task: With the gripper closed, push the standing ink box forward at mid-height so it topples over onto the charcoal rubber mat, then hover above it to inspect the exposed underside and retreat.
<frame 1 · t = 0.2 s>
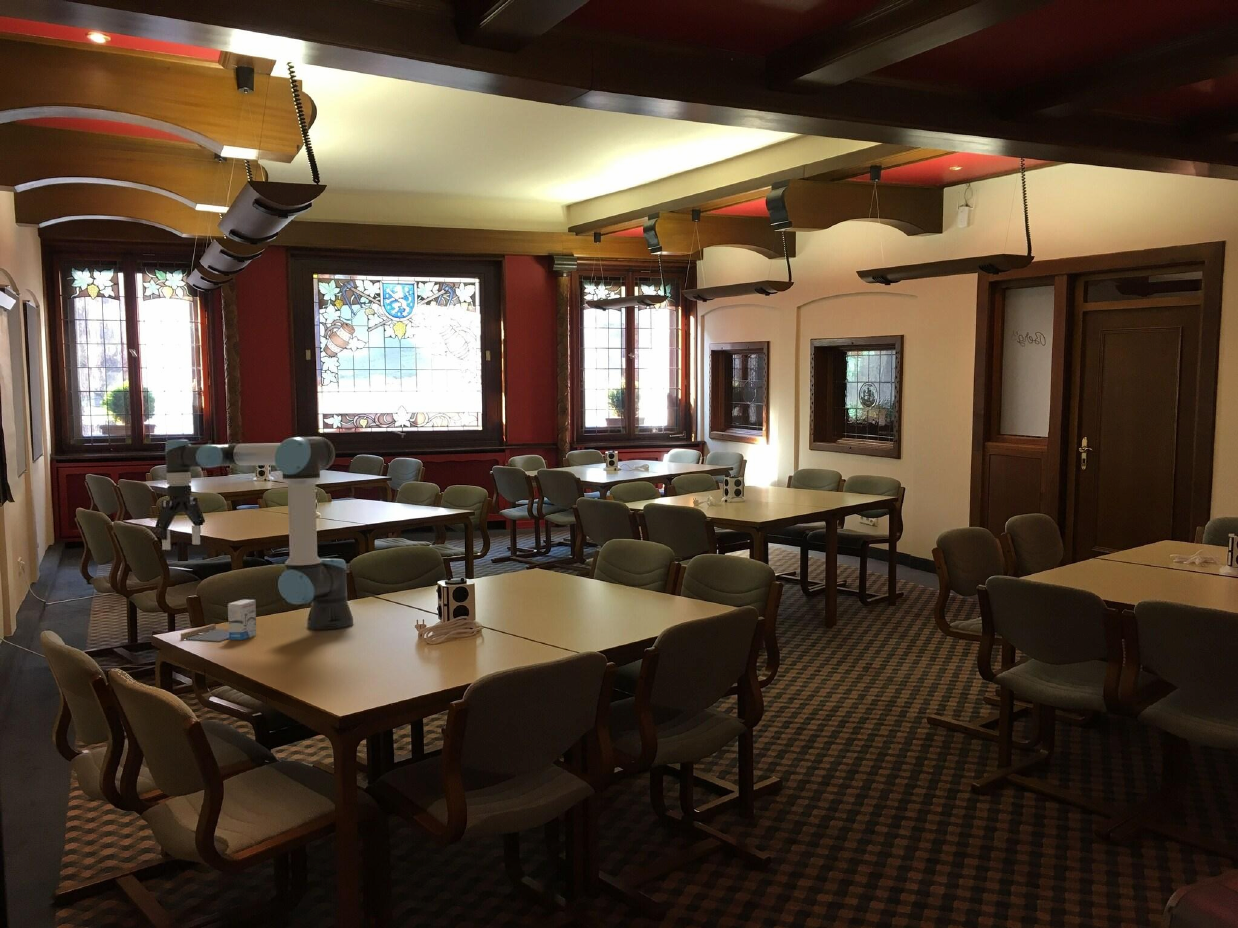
hand: (181, 546, 325), 28 cm above the table, fingers open, 13 cm apart
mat: (216, 635, 312), on the table
ink box: (243, 637, 309), on the table
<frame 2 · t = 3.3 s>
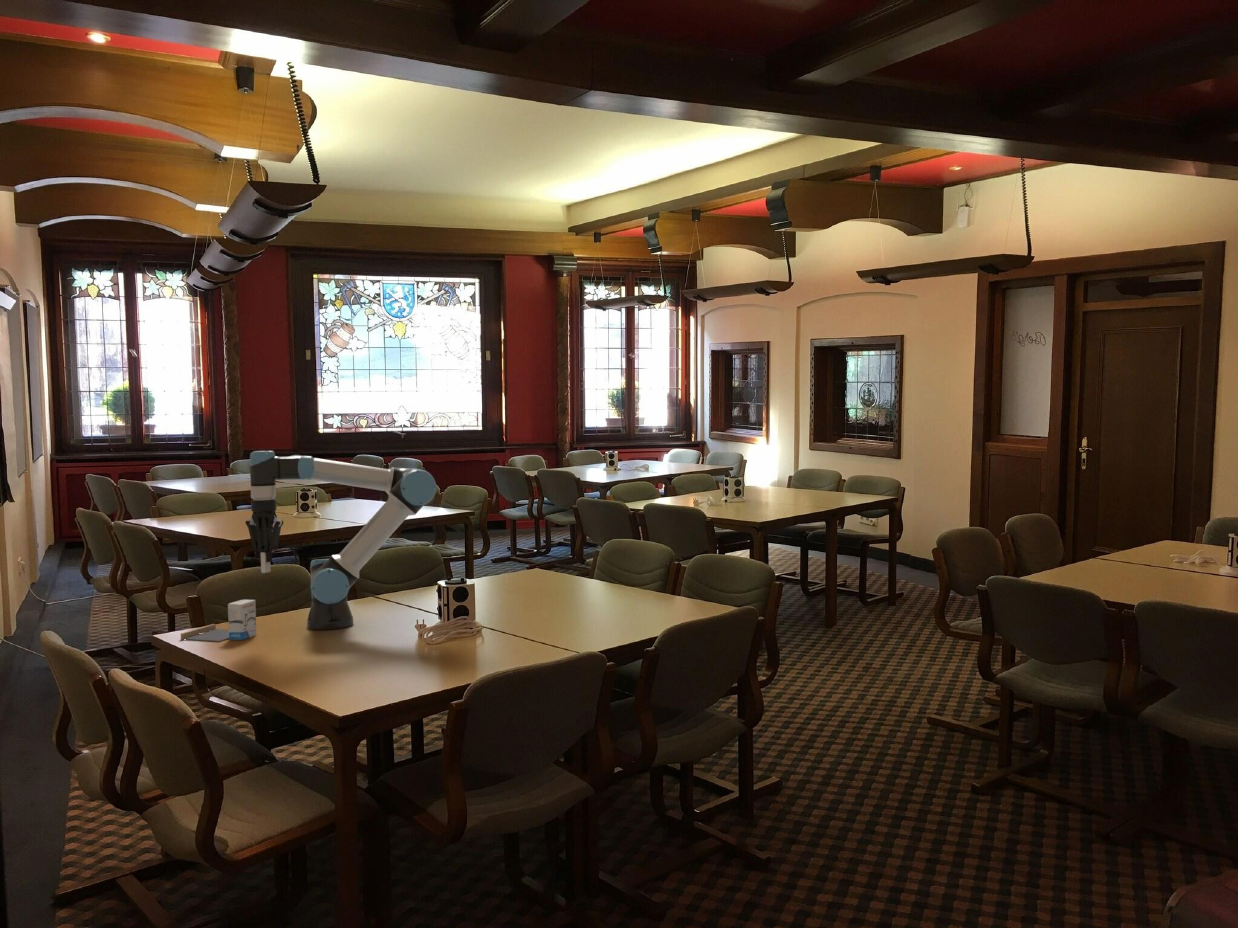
hand: (266, 572, 305), 22 cm above the table, fingers closed
nothing on the table moved.
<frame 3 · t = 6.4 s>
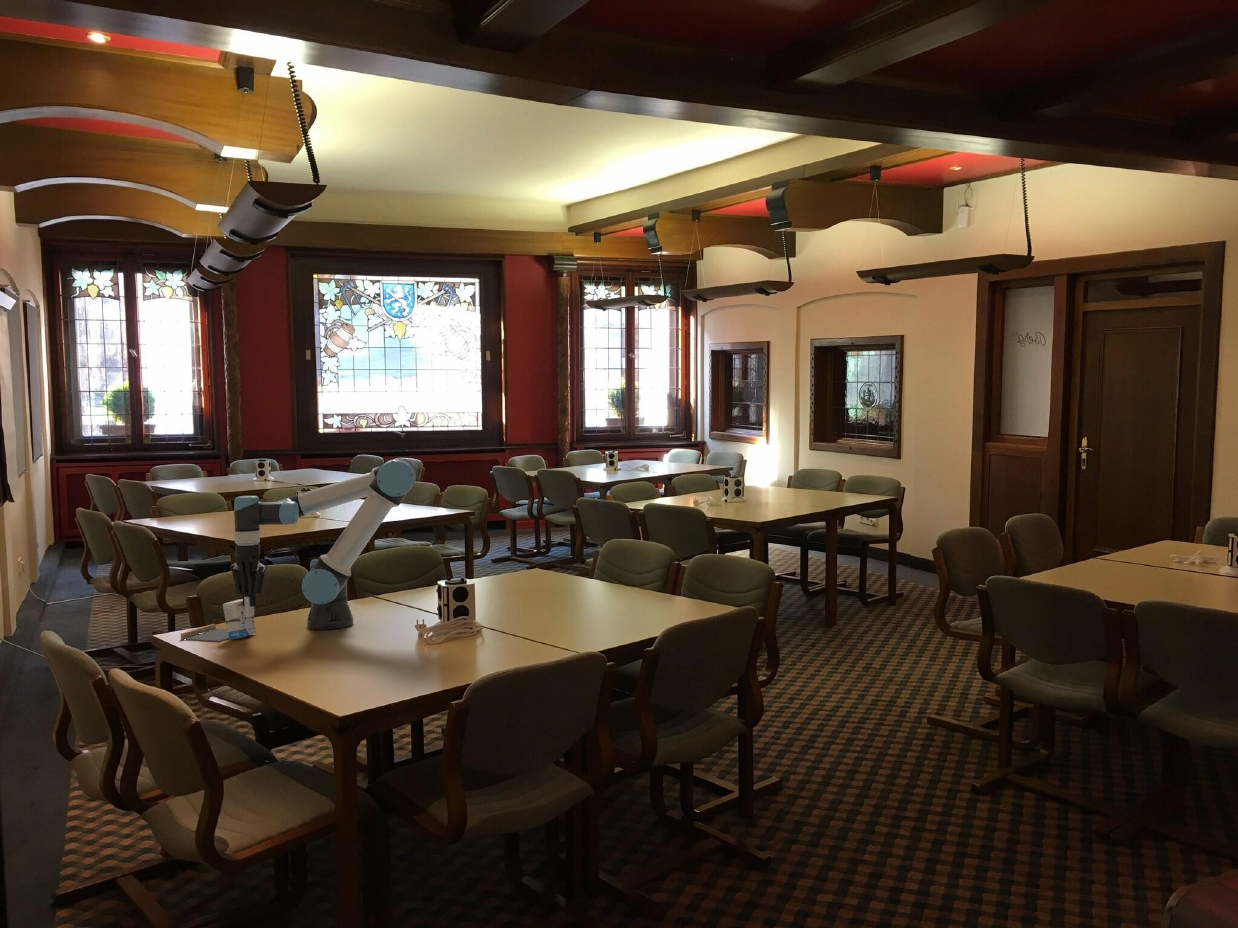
hand: (249, 616, 307), 7 cm above the table, fingers closed
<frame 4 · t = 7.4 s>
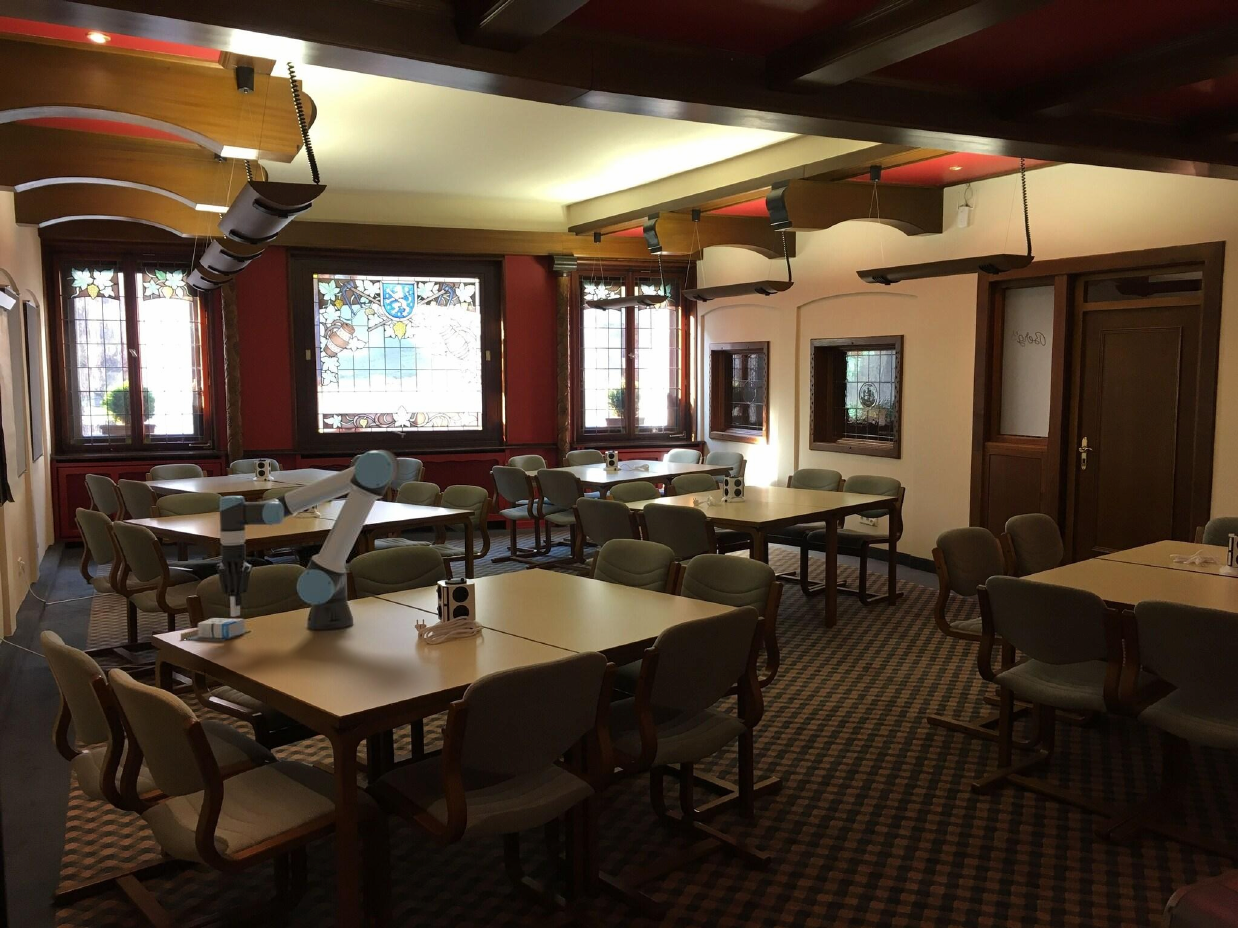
hand: (235, 615, 309), 7 cm above the table, fingers closed
ink box: (237, 628, 309), point 3 cm above the table, touching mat
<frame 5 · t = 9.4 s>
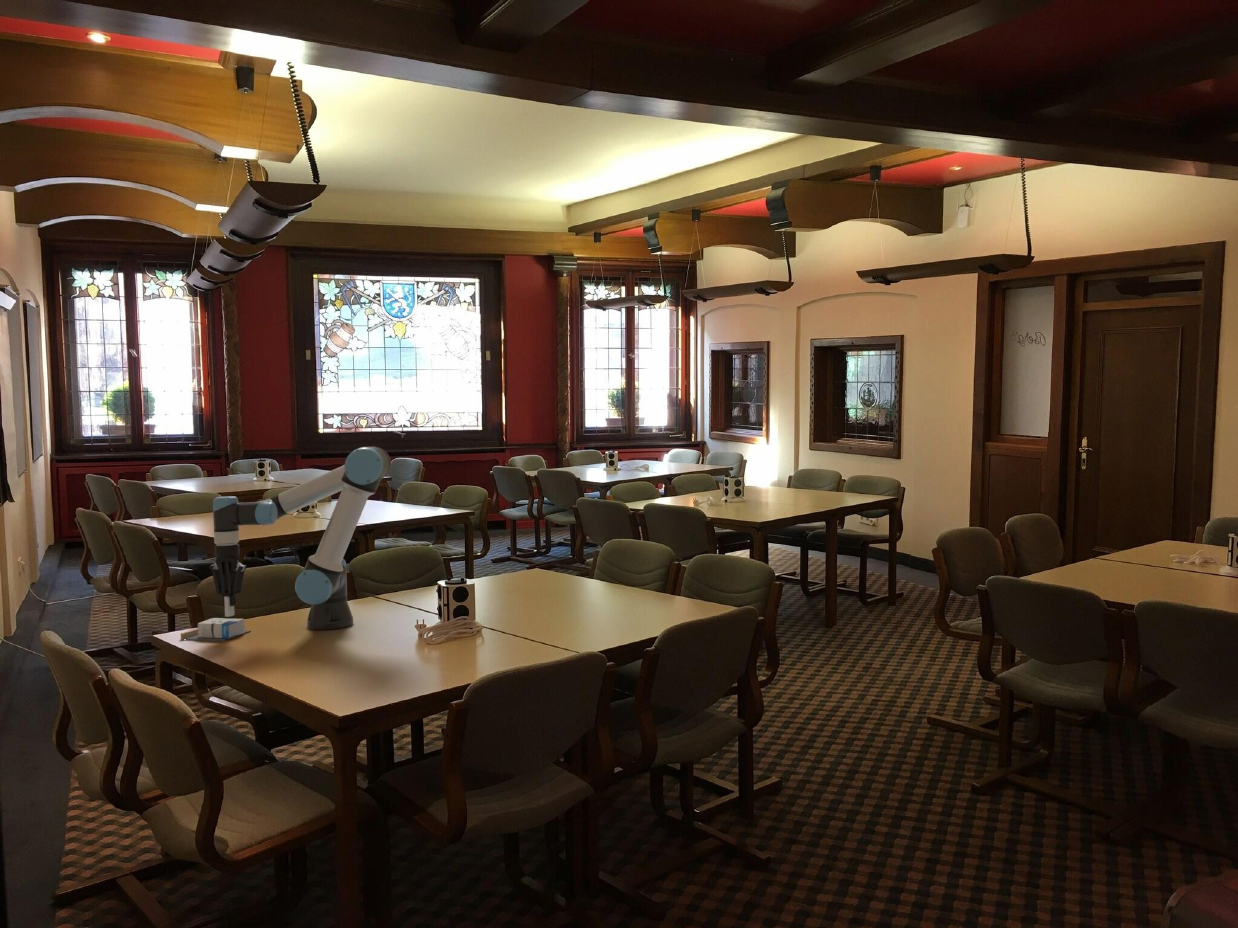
hand: (229, 615, 310), 7 cm above the table, fingers closed
nothing on the table moved.
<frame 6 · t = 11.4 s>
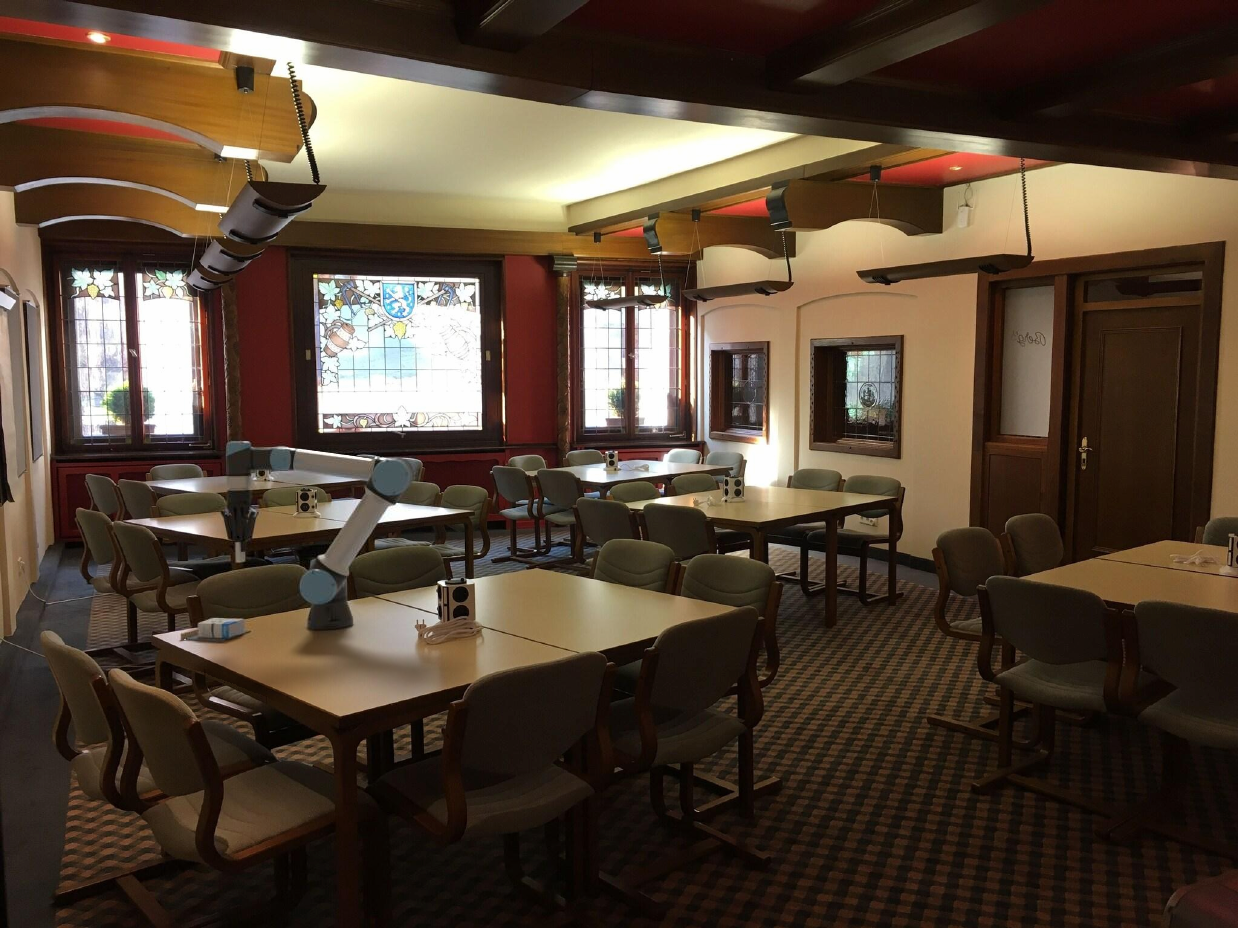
hand: (240, 561, 307), 25 cm above the table, fingers closed
nothing on the table moved.
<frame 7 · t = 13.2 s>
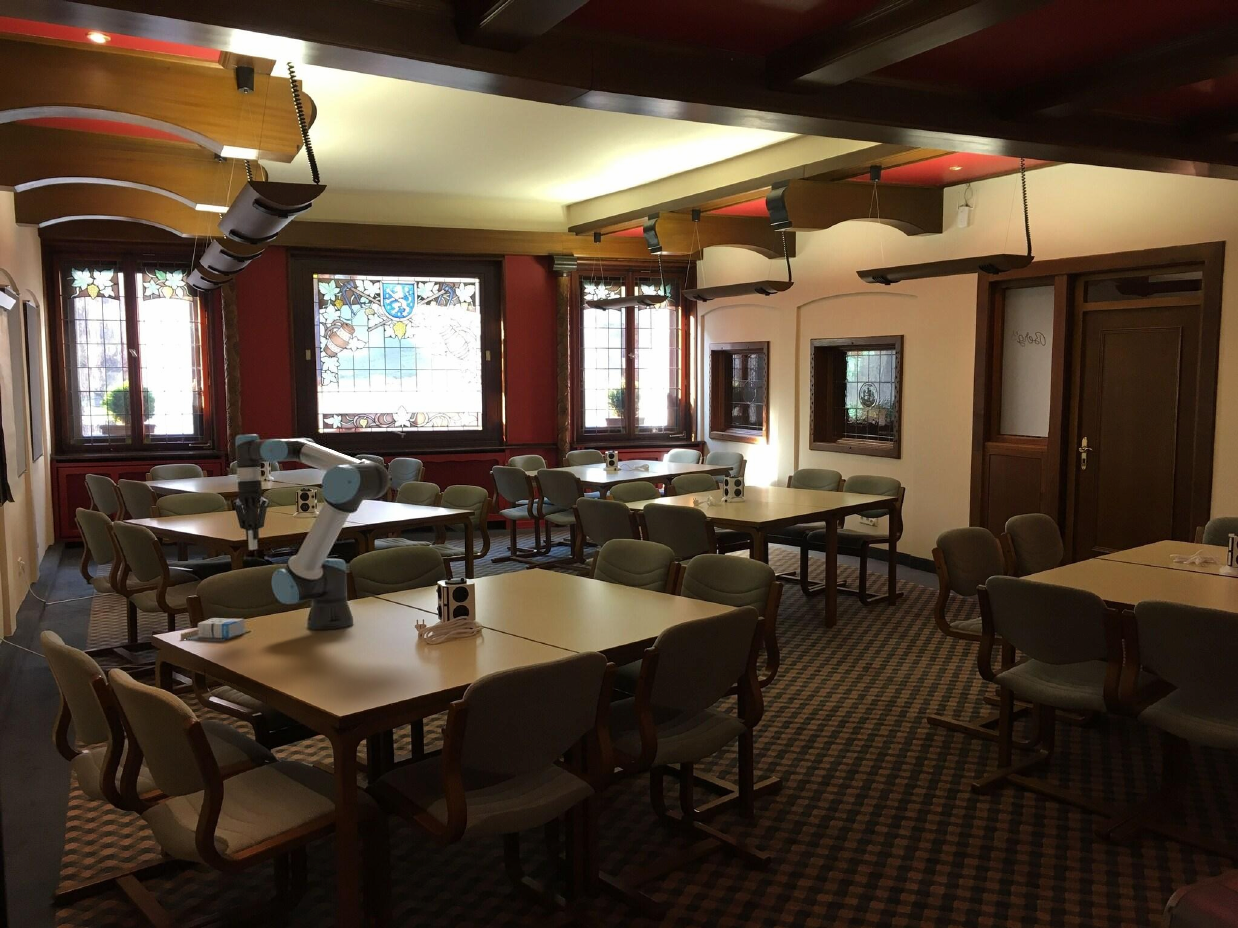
hand: (253, 549, 322), 27 cm above the table, fingers closed
nothing on the table moved.
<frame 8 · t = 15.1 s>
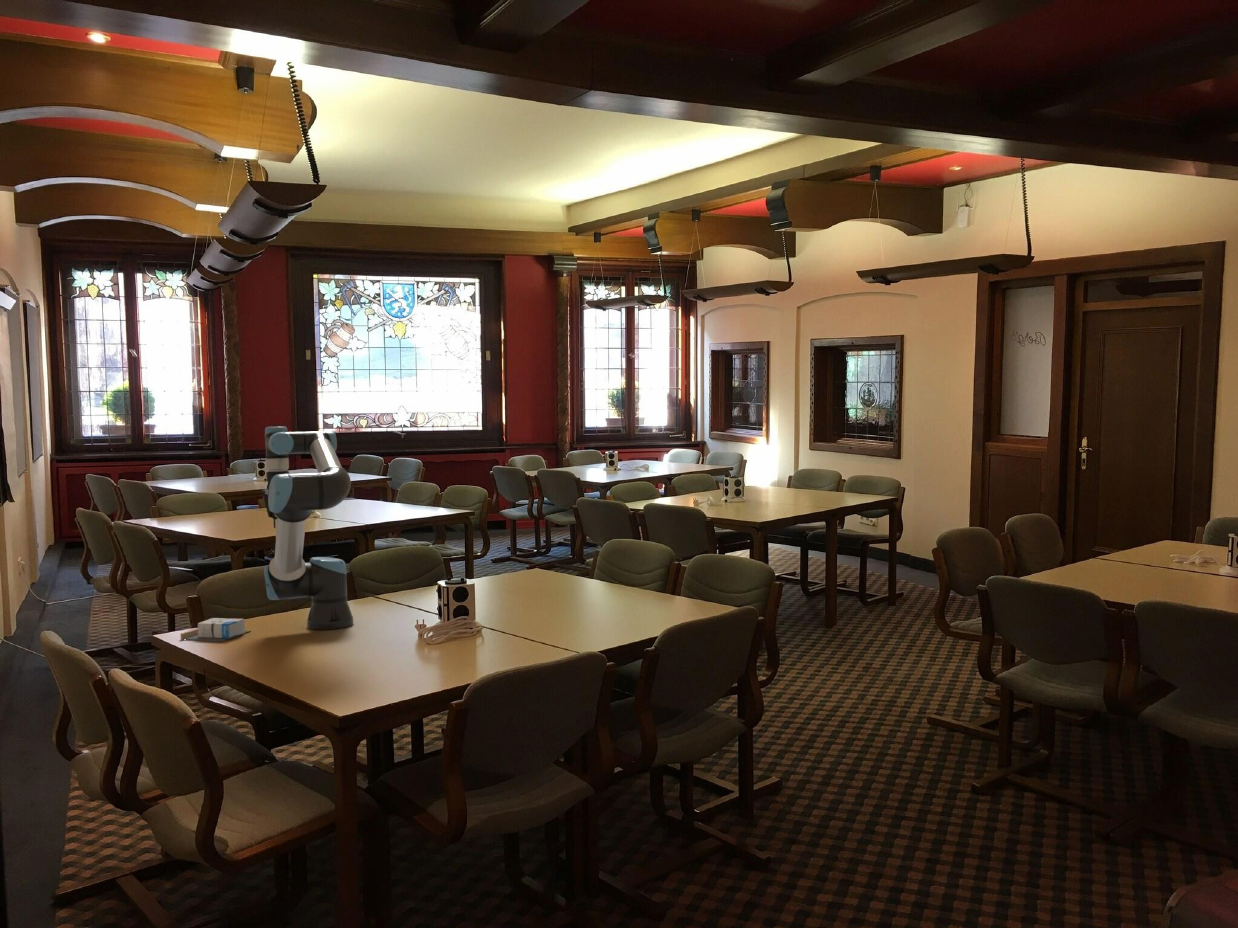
hand: (280, 537, 333), 29 cm above the table, fingers closed
nothing on the table moved.
at the end: ink box tilted 90°; ink box inside the target area (7.7 cm from its centre), point 2.8 cm above the table; the gripper is holding nothing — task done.
